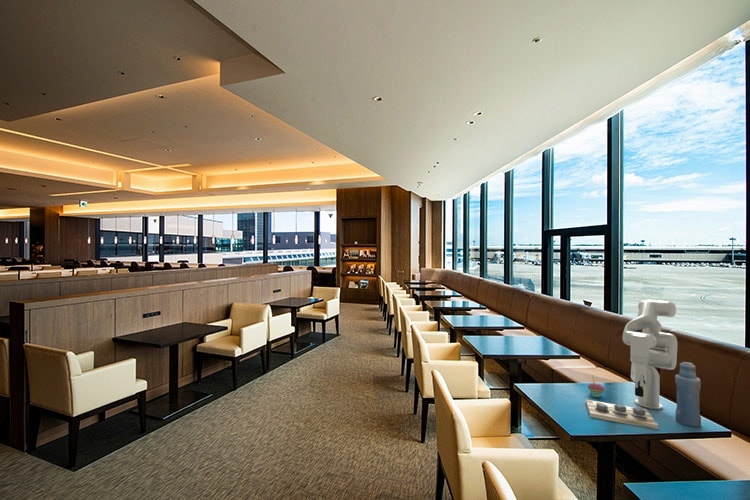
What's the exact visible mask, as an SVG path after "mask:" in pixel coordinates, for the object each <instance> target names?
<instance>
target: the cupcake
mask: <svg viewBox="0 0 750 500" xmlns="http://www.w3.org/2000/svg"><path fill="white" fill-rule="evenodd" d="M594 378H595V377H594V375H593V374H592V383H588V385H587V388H588V390H589V391H590V395H591V397H595V398H601V396H602V395H603V393H605V391H606V389H605V387H604V386H603V385H601V384H599V383H596V382H595V379H594Z"/></svg>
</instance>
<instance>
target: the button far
mask: <svg viewBox="0 0 750 500" xmlns="http://www.w3.org/2000/svg"><path fill="white" fill-rule="evenodd" d="M596 408H597V409H598V410H600V411H608V406H607V405H604V404H596Z"/></svg>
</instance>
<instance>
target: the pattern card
mask: <svg viewBox="0 0 750 500" xmlns="http://www.w3.org/2000/svg"><path fill="white" fill-rule="evenodd" d="M596 401H597V400H592V402H593V404H594V405H596V404H604V405H607V406H608V407H610V408H614V404H615V403H610V404H608V403H609V402H604V403H602V402H603V401H602V402H601V401H598V402H596ZM624 406H625V407H626V406H627V405H624ZM632 407H633V406H628V407H626V410H628V411H633V408H632Z"/></svg>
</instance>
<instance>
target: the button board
mask: <svg viewBox="0 0 750 500" xmlns="http://www.w3.org/2000/svg"><path fill="white" fill-rule="evenodd" d="M592 401H593V400H591V399H585V404H586V409H587V410H588V414H589V416H590V418H592V419H593V418H594V419H599V420H606V421H611V422H616V423H622V424H627V425H632V426H637V427H643V428H648V429H653V430H659V424H658V423H657V422H656V421H655V419H654V418H653V416H652V415H651V414H650V412H649V411H648V409H647V408H643V409H644V410H645V416H640V415H637V414H634V413H633V411H628V410H626V412H618V411H616V410H615V409H614V408H610V407H608V411H600V410H598V409H597V408H596V405H594V404H593V402H592ZM595 401H596V402H599V401H597V400H595ZM602 403H605V402H603V401H602ZM607 403H608V404H611V403H609V402H607ZM613 404H614V405H616V404H615V403H613ZM625 406H626V407H629V406H628V405H625ZM631 407H632V408H635V407H633V406H631Z"/></svg>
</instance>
